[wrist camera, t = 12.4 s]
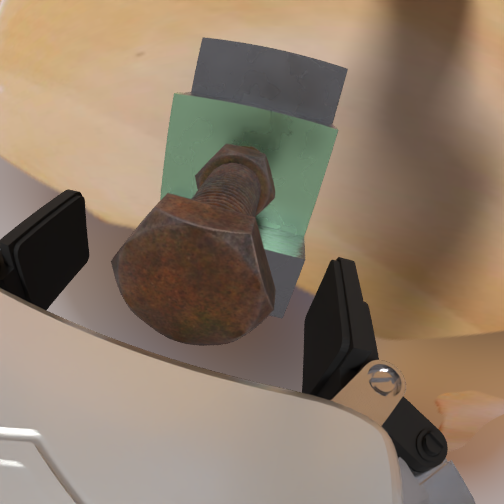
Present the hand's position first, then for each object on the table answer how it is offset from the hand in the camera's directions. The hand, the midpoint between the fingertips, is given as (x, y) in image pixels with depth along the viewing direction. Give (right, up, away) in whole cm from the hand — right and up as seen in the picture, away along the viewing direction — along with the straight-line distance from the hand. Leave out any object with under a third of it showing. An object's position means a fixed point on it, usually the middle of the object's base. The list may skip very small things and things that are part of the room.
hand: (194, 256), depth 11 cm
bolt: (+2, +7, +12) cm, 14 cm away
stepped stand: (+2, +10, +18) cm, 21 cm away
